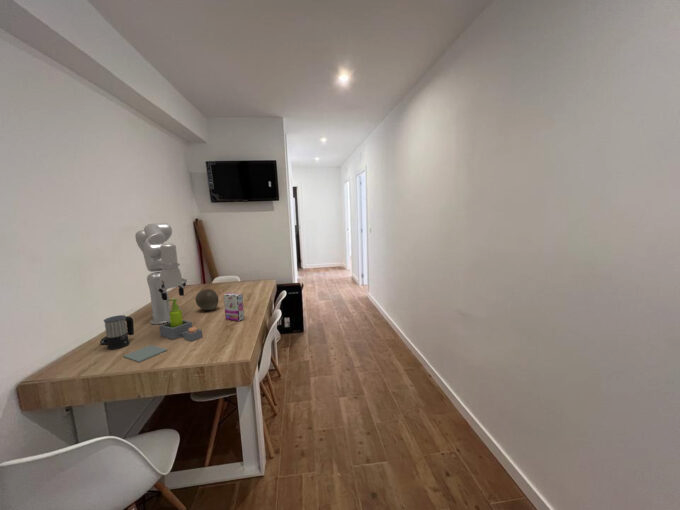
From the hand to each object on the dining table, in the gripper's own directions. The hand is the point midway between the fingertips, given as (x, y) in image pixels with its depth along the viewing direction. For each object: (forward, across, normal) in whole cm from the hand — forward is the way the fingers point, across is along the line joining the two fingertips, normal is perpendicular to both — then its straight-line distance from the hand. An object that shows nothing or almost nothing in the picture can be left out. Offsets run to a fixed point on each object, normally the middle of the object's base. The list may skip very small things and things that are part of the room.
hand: (173, 297), depth 162 cm
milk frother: (+21, +22, -19) cm, 36 cm away
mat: (+21, +22, +8) cm, 32 cm away
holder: (+21, 0, +5) cm, 22 cm away
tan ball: (+19, 0, +13) cm, 23 cm away
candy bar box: (+21, -31, +11) cm, 39 cm away
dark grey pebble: (+21, -37, -21) cm, 48 cm away
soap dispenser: (+21, 0, -1) cm, 21 cm away
